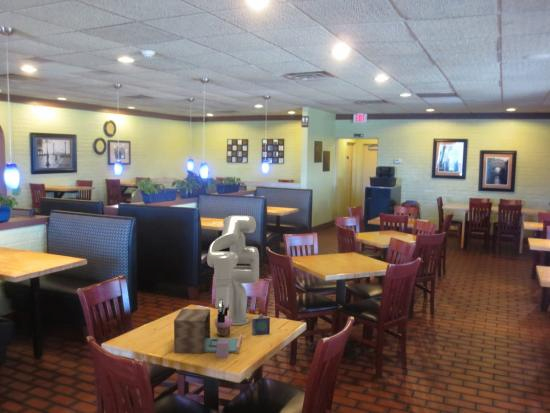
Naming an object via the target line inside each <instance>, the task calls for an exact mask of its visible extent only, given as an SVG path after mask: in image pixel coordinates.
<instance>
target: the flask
mask: <svg viewBox="0 0 550 413" xmlns="http://www.w3.org/2000/svg"><path fill="white" fill-rule="evenodd" d="M251 318H252V320H251V322H252V324H251V329H252V331H251V335H252V336H263V335H266V336H268V335H270V334H271V333H270V325H271V324H270V322H271V318H270V316H267V315H263V313H259V316H256V317H254V316H253V317H251Z"/></svg>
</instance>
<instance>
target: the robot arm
mask: <svg viewBox="0 0 550 413" xmlns="http://www.w3.org/2000/svg"><path fill="white" fill-rule="evenodd" d="M222 224H223V228H222V233H221V236H219V237H217V238H216V239H215V240H213V242H211V243H210V245H209V247H208V252H207V256H206V257H207V258H206V262H207V265H208V266H209V267H210V268H214V270H213V272H214V273H213V274H214V275H213V276H214V277H213V278H214V279H213V280H214V283H213V284H214V285H213V286H214V287H215V303H214V304H215V305H214V306H215V309H217V318H218V323H224V322H225V316H229V317H230V318H231V319H232V322H233V324H232V325H231V326H243V325H246V324H249V322H250V320H249V318H248V317H247V290H246V287H245V286H244V284H253V285H254V284H257V283H258V282H259V281H260V280H259V278H260V253H259V250H258V248H257V247H255V246H246V236H245V234H246V233H247V234H251V233H252V234H253V233H254V232H255V231H256V228H257V221H256V219H255V217H254V216H250V215H241V214H240V215H238V214H237V215H235V214H233V215H229V216H227V217H224V219H223V223H222ZM227 248H229V251H222V250H224V249H227ZM237 264H238V265H237ZM239 264H241V265H239Z"/></svg>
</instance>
